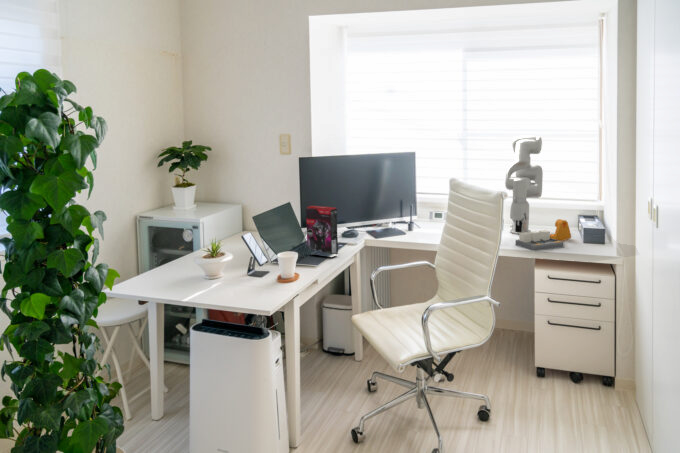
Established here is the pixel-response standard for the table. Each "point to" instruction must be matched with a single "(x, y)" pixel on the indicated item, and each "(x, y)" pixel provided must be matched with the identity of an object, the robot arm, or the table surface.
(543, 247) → the dark grey tray
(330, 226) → the graphics card box
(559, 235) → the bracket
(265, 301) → the table surface
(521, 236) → the switch tab
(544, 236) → the switch tab
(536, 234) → the switch tab
